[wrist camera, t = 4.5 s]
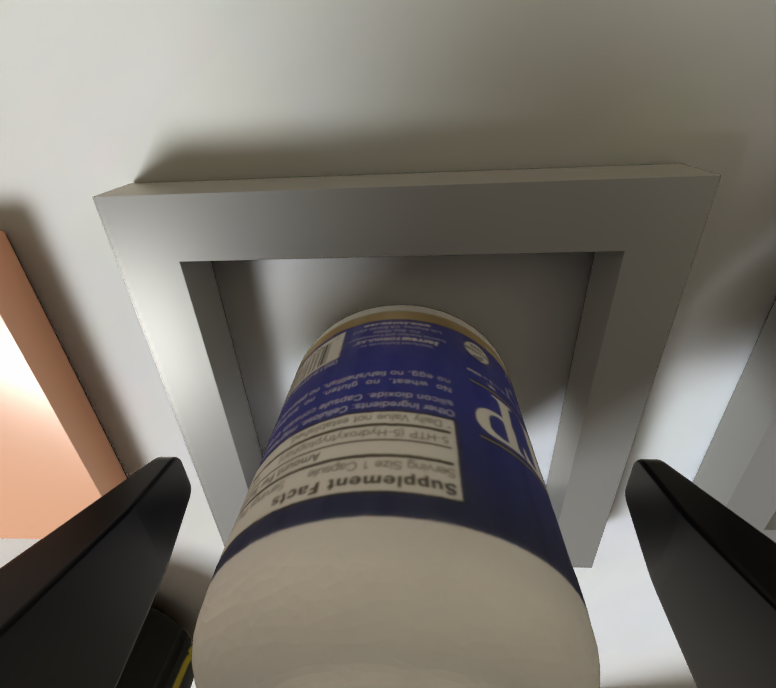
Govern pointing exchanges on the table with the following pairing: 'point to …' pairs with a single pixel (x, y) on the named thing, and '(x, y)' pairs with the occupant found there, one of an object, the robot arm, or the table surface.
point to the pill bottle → (397, 528)
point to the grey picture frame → (418, 238)
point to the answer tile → (43, 419)
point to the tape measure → (159, 656)
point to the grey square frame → (748, 441)
